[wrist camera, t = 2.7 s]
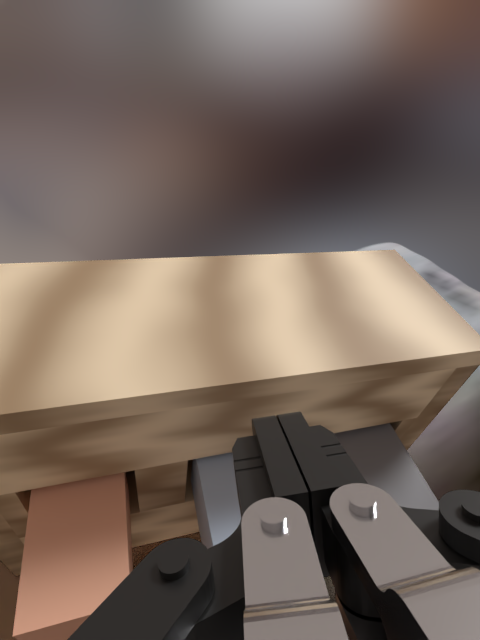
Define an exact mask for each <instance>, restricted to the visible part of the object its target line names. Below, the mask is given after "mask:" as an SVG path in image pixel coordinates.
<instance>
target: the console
mask: <svg viewBox="0 0 480 640" xmlns="http://www.w3.org/2000/svg"><path fill="white" fill-rule="evenodd" d="M479 365H480V335H479V334H478V333H477V332H476V331H475V330H474V329H473V328H472V327H471V326H470V325H469V324H468V323H467V322H466V321H465V320H464V319H463V318H462V317H461V316H460V315H459V314H458V313H457V312H456V311H455V310H454V309H453V308H452V307H451V306H450V305H449V304H448V303H447V302H446V301H445V300H444V299H443V298H442V297H441V296H440V295H439V294H438V293H437V292H436V291H435V290H434V289H433V288H432V287H431V286H430V285H429V284H428V283H427V282H426V281H425V280H424V279H423V278H422V277H421V276H420V275H419V274H418V273H417V272H416V271H415V270H414V269H413V268H412V267H411V266H410V265H409V264H408V263H407V262H406V261H405V260H404V259H403V258H402V257H401V256H400V255H399V254H398V253H397V252H396V251H395V250H377V251H349V252H322V253H295V254H267V255H238V256H237V255H236V256H208V257H180V258H153V259H127V260H126V259H125V260H96V261H68V262H44V263H43V262H40V263H13V264H0V561H1V562H2V563H3V564H4V565H5V566H6V567H7V568H8V569H9V570H10V571H11V572H12V573H13V574H14V575H15V576H17V575H20V574H21V566H22V558H23V550H24V542H25V535H26V527H27V519H28V511H29V504H30V496H31V489H36V488H42V487H47V486H53V485H58V484H63V483H69V482H74V481H79V480H85V479H90V478H96V477H101V476H106V475H112V474H117V473H123V472H126V476H127V483H128V489H129V502H130V521H131V539H132V548H134V547H138V546H142V545H146V544H150V543H155V542H159V541H163V540H167V539H171V538H175V537H180V536H184V535H188V534H192V533H196V532H200V531H199V526H198V520H197V514H196V508H195V502H194V496H193V491H192V485H191V471H192V461H193V459H198V458H203V457H209V456H214V455H219V454H225V453H230V452H232V448H233V446H234V444H235V442H236V440H237V438H240V437H247V436H253V432H252V419H253V418H260V417H266V416H273V415H275V416H276V415H279V414H286V413H292V412H299V411H300V412H301V413H302V415H303V416H304V418H305V420H306V422H307V423H308V425H309V427H310V426H316V425H321V426H323V427H325V428H326V429H328V430H330V431H331V432H333V433H338V432H343V431H349V430H354V429H359V428H365V427H370V426H375V425H381V424H386V423H390V424H391V426H392V427H393V429H394V431H395V432H396V434H397V435H398V437H399V439H400V440H401V442H402V444H403V445H404V447H405V448H406V450H408V448H409V447H410V446H411V445H412V444H413V443H414V441H415V440H416V439H417V438H418V437H419V436H420V434H421V433H422V432H423V431H424V430H425V428H426V427H427V426H428V425H429V424H430V423H431V421H432V420H433V419H434V418H435V417H436V416H437V414H438V413H439V412H440V411H441V410H442V408H443V407H444V406H445V405H446V404H447V403H448V401H449V400H450V399H451V398H452V397H453V395H454V394H455V393H456V392H457V391H458V390H459V388H460V387H461V386H462V385H463V384H464V383H465V381H466V380H467V379H468V378H469V377H470V375H471V374H472V373H473V372H474V371H475V370H476V368H477V367H478V366H479Z"/></svg>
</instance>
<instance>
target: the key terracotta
mask: <svg viewBox="0 0 480 640" xmlns="http://www.w3.org/2000/svg"><path fill="white" fill-rule="evenodd" d="M132 571H133V558H132V539H131V521H130V502H129V489H128V483H127V476H126V472H123V473H117V474H112V475H106V476H101V477H96V478H90V479H85V480H79V481H74V482H69V483H63V484H58V485H53V486H47V487H42V488H36V489H31V496H30V504H29V511H28V519H27V527H26V535H25V542H24V550H23V558H22V566H21V574H20V581H19V589H18V597H17V605H16V613H15V620H14V628H13V637H14V638H16V639H17V640H67V639H68V638H69V637H70V636H71V635H72V634H73V633H74V632H75V631H76V630H77V629H78V628H79V626H80V625H81V624H82V623H83V622H84V621H85V620H86V619H87V618H88V617H89V616H90V615H91V614H92V613H93V612H94V611H95V610H96V609H97V607H98V606H99V605H100V604H101V603H102V602H103V601H104V600H105V599H106V598H107V597H108V596H109V595H110V594H111V593H112V592H113V591H114V590H115V588H116V587H117V586H118V585H119V584H120V583H121V582H122V581H123V580H124V579H125V578H126V577H127V576H128V575H129V574H130V573H131V572H132Z"/></svg>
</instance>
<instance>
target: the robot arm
mask: <svg viewBox="0 0 480 640" xmlns="http://www.w3.org/2000/svg"><path fill="white" fill-rule="evenodd" d="M252 432H253V436H247V437H240V438H237V440H236V442H235V444H234V446H233V448H232V454H233V462H234V470H235V478H236V486H237V494H238V500H239V507H240V513H241V521H240V524H239V525H238V527H237V529H236V530H235V531H234V533H233V534H231V535H230V536H229V537H228V538H227V539H225V540H224V541H222V542H220V543H219V544H216V545H214V546H212V547H210V548H208V549H207V548H206V546H205V545H204V544H202V543H201V542H199V541H198V540H195V539H191V538H177V539H172V540H169V541H167V542H164V543H162V544H160V545H159V546H157V547H156V548H154V549H153V550H152V551H151V552H150V553H149V554H148V555H147V556H146V557H145V558H144V559H143V560H142V561H141V562H140V563H139V564H138V565H137V566H136V567H135V568H134V569H133V571H132V572H131V573H130V574H129V575H128V576H127V577H126V578H125V579H124V580H123V581H122V582H121V583H120V584H119V585H118V586H117V587H116V588H115V590H114V591H113V592H112V593H111V594H110V595H109V596H108V597H107V598H106V599H105V600H104V601H103V602H102V603H101V604H100V605H99V606H98V607H97V609H96V610H95V611H94V612H93V613H92V614H91V615H90V616H89V617H88V618H87V619H86V620H85V621H84V622H83V623H82V624H81V625H80V626H79V628H78V629H77V630H76V631H75V632H74V633H73V634H72V635H71V636H70V637H69V638H68V639H67V640H348V637H349V639H350V640H480V492H477V491H472V490H455V491H451V492H448V493H446V494H445V495H443V496H442V498H441V499H440V501H439V510H428V509H415V508H406V507H402V506H399V505H398V504H397V503H396V501H395V500H394V499H393V498H392V497H391V496H390V495H389V494H388V493H387V492H385V491H384V490H382V489H380V488H378V487H375V486H372V485H369V484H368V483H367V482H366V480H365V479H364V477H363V476H362V474H361V473H360V471H359V470H358V468H357V467H356V465H355V464H354V462H353V461H352V460H351V458H350V457H349V455H348V454H347V453H346V451H345V449H344V448H343V446H342V445H341V444H340V442H339V440H338V439H337V438H336V436H335V435H334V433H333V432H331V431H330V430H328V429H326V428H325V427H323V426H321V425H316V426H310V427H309V425H308V423H307V422H306V420H305V418H304V416H303V415H302V413H301V412H300V411H299V412H292V413H286V414H279V415H276V416H275V415H273V416H266V417H260V418H253V419H252ZM328 576H330V577H331V580H332V582H333V585H334V587H335V600H334V599H332V600H330V598H329V595H328V591H327V588H326V584H325V580H324V577H328ZM346 632H347V633H346ZM347 634H348V636H347Z"/></svg>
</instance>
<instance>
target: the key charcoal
mask: <svg viewBox="0 0 480 640" xmlns="http://www.w3.org/2000/svg"><path fill="white" fill-rule="evenodd" d="M334 435H335V436H336V438H337V439H338V440H339V442H340V444H341V445H342V446H343V448H344V449H345V451H346V453H347V454H348V455H349V457H350V458H351V460H352V461H353V462H354V464H355V465H356V467H357V468H358V470H359V471H360V473H361V474H362V476H363V477H364V479H365V480H366V482H367V483H368V484H369V485H372V486H375V487H378V488H380V489H382V490H384V491H385V492H387V493H388V494H389V495H390V496H391V497H392V498H393V499H394V500H395V501H396V503H397V504H398V505H399V506H402V507H406V508H415V509H428V510H439V502H438V500H437V499H436V497H435V495H434V494H433V492H432V491H431V489H430V487H429V486H428V484H427V482H426V481H425V479H424V478H423V476H422V474H421V473H420V471H419V469H418V468H417V466H416V465H415V463H414V461H413V460H412V458H411V457H410V455H409V453H408V452H407V450H406V448H405V447H404V445H403V444H402V442H401V440H400V439H399V437H398V435H397V434H396V432H395V431H394V429H393V427H392V426H391V424H390V423H386V424H381V425H375V426H370V427H365V428H359V429H354V430H349V431H343V432H338V433H334Z"/></svg>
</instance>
